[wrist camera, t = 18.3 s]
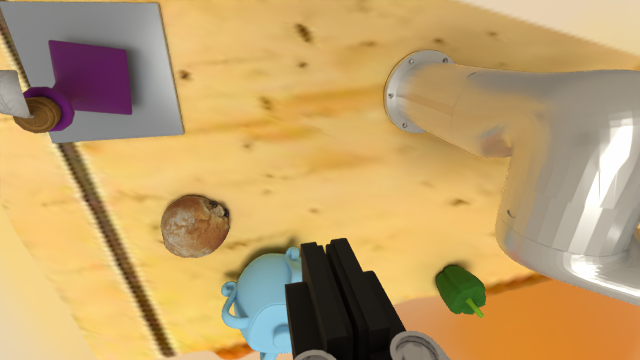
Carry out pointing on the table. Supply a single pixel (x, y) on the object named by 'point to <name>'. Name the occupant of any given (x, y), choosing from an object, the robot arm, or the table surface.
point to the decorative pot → (263, 302)
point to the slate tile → (107, 31)
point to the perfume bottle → (70, 88)
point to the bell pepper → (461, 291)
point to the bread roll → (194, 226)
